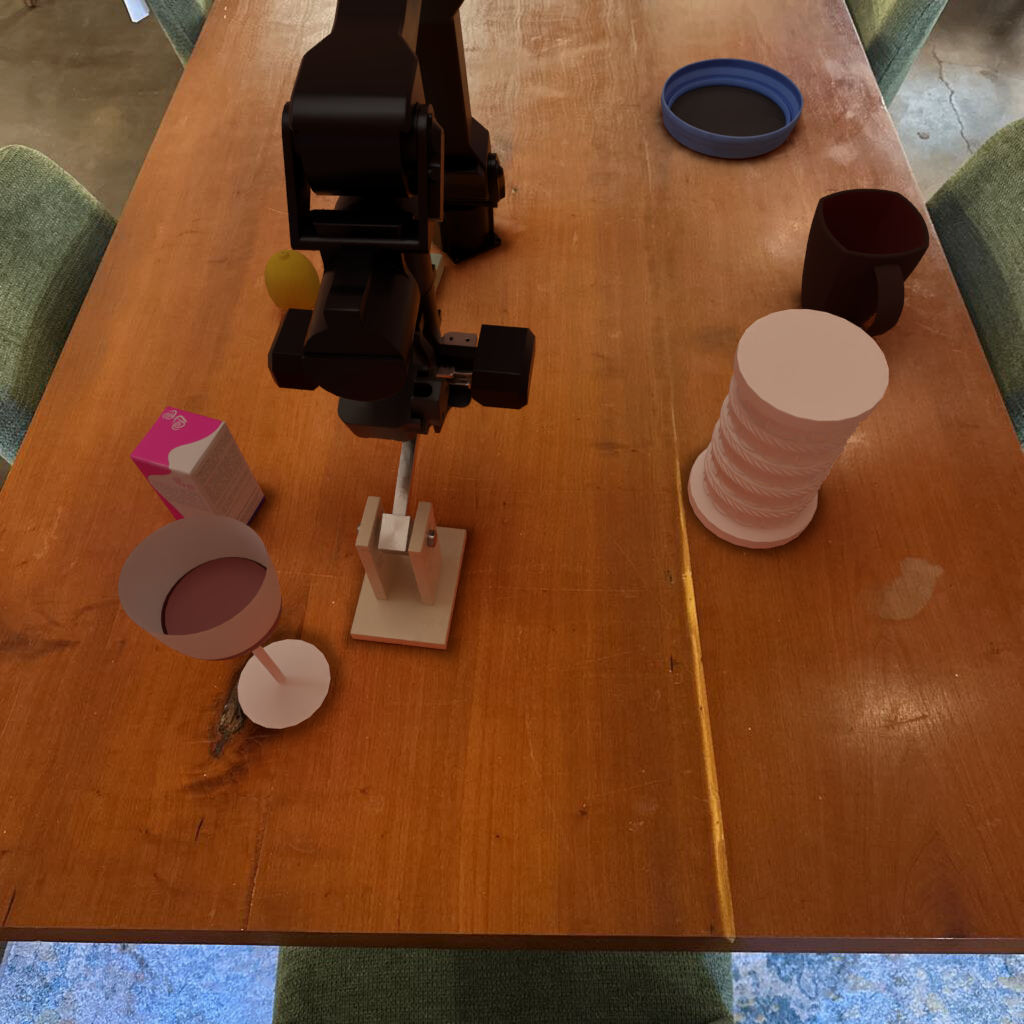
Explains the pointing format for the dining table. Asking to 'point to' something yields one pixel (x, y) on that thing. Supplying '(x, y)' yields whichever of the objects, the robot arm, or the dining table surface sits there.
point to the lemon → (291, 280)
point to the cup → (862, 256)
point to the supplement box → (197, 467)
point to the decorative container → (784, 424)
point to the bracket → (408, 581)
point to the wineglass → (224, 612)
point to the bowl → (730, 107)
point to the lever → (400, 505)
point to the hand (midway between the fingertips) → (417, 427)
